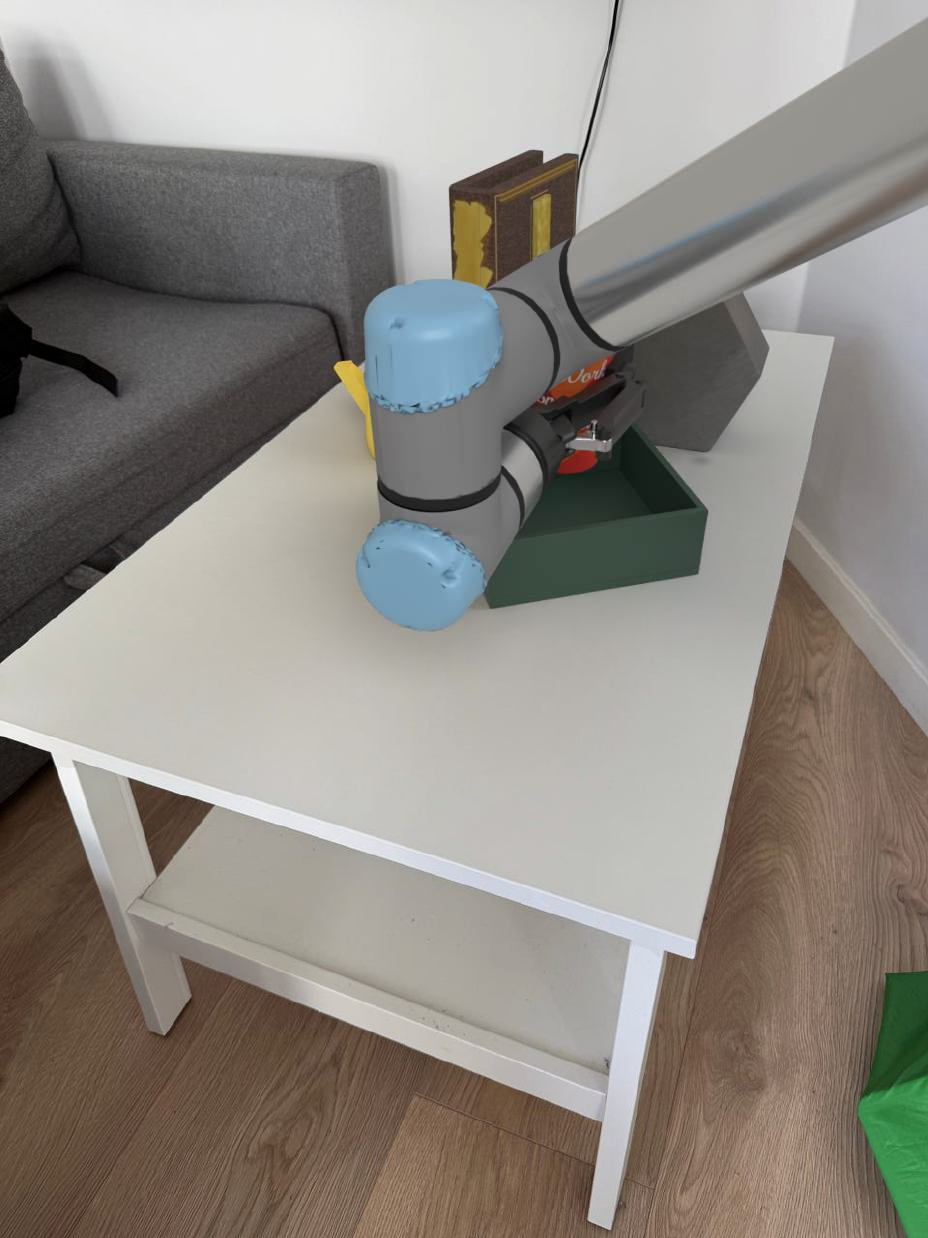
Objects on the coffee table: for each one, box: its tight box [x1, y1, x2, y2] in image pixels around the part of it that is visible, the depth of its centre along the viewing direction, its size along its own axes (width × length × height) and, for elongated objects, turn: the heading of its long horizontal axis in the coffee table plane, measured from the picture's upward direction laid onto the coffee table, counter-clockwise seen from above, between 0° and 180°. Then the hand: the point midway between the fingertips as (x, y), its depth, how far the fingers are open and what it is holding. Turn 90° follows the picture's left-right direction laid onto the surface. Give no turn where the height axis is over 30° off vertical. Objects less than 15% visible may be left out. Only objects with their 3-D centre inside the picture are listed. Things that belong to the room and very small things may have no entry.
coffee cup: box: [535, 355, 613, 473], centre depth 79 cm, size 8×8×15 cm
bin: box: [483, 421, 709, 609], centre depth 86 cm, size 19×19×7 cm
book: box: [448, 149, 580, 289], centre depth 107 cm, size 22×8×25 cm, turn 148°
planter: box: [612, 292, 770, 453], centre depth 99 cm, size 17×8×21 cm
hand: (586, 349), depth 82 cm, fingers closed on coffee cup, 7 cm apart
